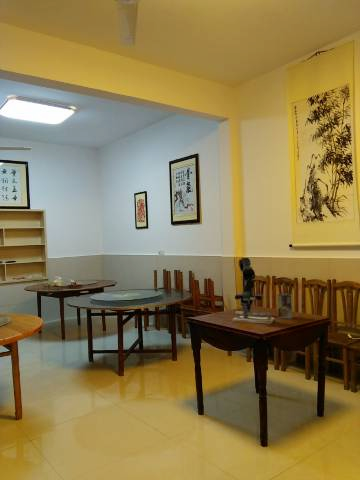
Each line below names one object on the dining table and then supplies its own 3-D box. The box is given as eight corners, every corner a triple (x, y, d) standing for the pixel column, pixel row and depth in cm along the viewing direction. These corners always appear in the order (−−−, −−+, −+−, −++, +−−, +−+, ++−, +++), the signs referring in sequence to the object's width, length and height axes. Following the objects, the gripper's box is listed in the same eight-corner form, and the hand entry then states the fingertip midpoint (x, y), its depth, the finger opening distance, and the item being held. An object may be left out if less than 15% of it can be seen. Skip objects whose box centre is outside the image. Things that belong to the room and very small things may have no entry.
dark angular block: (245, 316, 271) (245, 304, 271) (248, 316, 270) (247, 304, 270) (243, 317, 266) (243, 305, 266) (246, 317, 265) (245, 306, 265)
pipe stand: (237, 317, 277) (236, 309, 277) (274, 319, 266) (273, 311, 266) (232, 321, 266) (231, 312, 266) (270, 323, 255) (270, 314, 255)
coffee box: (292, 316, 273) (291, 293, 273) (292, 318, 267) (291, 295, 267) (279, 316, 276) (278, 293, 276) (278, 318, 270) (277, 295, 270)
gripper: (232, 288, 263) (233, 311, 263) (259, 288, 255) (260, 312, 256) (236, 286, 273) (237, 308, 274) (263, 286, 266) (264, 309, 266)
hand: (249, 309), depth 267 cm, fingers closed
